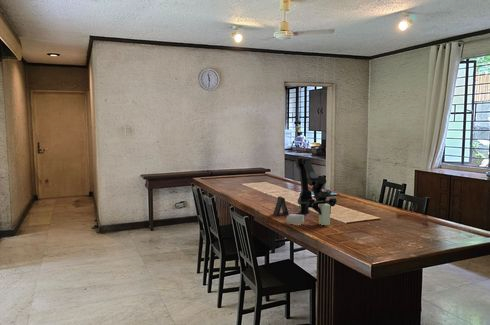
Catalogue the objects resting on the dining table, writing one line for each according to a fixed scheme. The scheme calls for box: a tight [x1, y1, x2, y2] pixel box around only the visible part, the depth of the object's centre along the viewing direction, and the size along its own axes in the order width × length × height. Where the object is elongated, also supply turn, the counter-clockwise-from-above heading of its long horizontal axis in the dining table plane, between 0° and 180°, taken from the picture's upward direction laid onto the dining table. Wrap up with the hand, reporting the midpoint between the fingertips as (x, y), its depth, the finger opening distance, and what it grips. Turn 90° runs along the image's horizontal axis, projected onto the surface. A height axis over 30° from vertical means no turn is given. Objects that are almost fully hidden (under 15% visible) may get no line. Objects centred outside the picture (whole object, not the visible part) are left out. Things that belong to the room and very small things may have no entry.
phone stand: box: [273, 196, 289, 217], centre depth 266 cm, size 9×6×12 cm, turn 108°
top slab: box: [286, 213, 305, 222], centre depth 244 cm, size 9×9×2 cm
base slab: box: [285, 219, 305, 226], centre depth 244 cm, size 9×9×2 cm
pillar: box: [318, 203, 331, 226], centre depth 241 cm, size 5×5×12 cm
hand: (325, 214), depth 239 cm, fingers open, 6 cm apart
